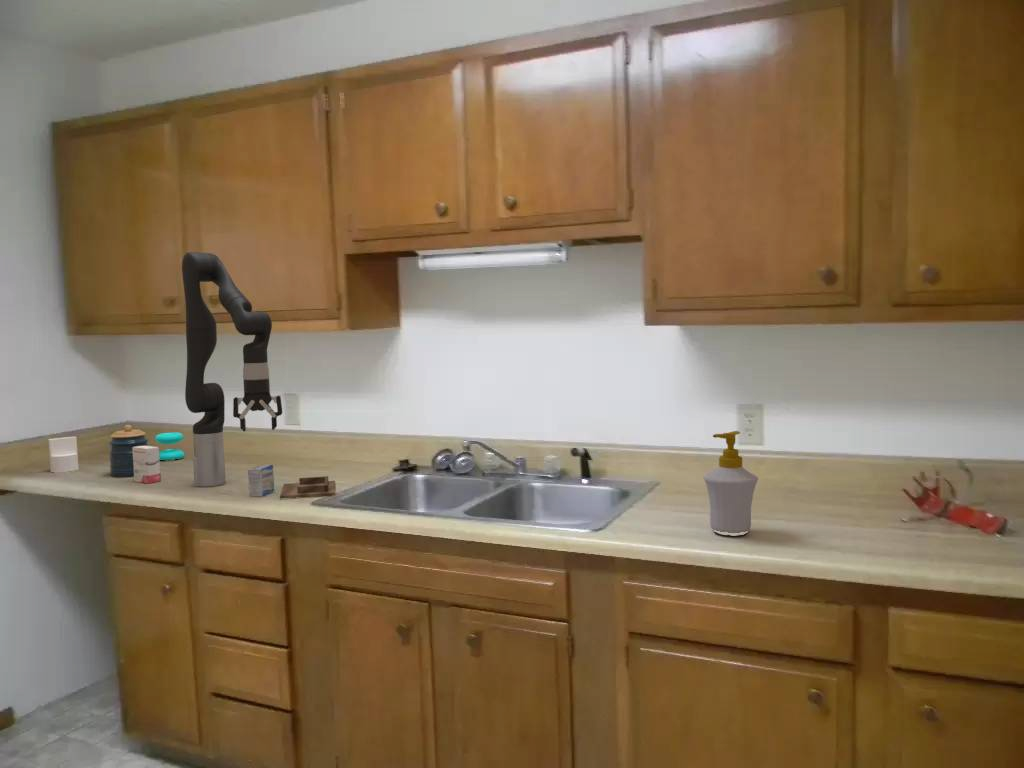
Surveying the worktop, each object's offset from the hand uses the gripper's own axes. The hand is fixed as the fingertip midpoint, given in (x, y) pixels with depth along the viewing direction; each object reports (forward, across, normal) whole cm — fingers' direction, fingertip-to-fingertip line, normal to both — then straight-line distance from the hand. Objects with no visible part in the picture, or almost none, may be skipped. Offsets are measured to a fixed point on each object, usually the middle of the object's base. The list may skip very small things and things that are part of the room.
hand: (258, 430), depth 250 cm
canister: (+20, +49, -49) cm, 72 cm away
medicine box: (+20, 0, 0) cm, 20 cm away
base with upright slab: (+20, +75, -64) cm, 101 cm away
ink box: (+20, +40, -33) cm, 56 cm away
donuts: (+20, +41, -77) cm, 90 cm away
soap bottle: (+20, -116, +80) cm, 142 cm away
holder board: (+20, -14, 0) cm, 24 cm away
